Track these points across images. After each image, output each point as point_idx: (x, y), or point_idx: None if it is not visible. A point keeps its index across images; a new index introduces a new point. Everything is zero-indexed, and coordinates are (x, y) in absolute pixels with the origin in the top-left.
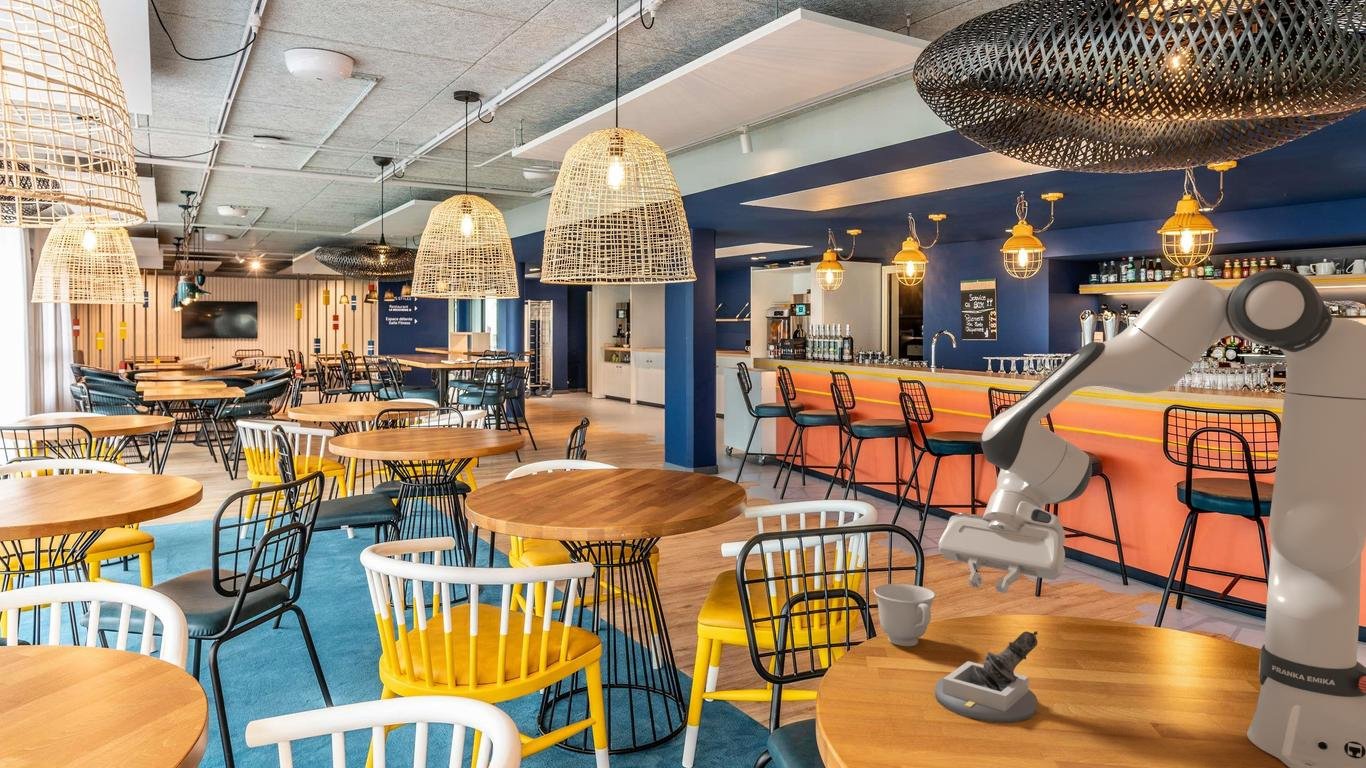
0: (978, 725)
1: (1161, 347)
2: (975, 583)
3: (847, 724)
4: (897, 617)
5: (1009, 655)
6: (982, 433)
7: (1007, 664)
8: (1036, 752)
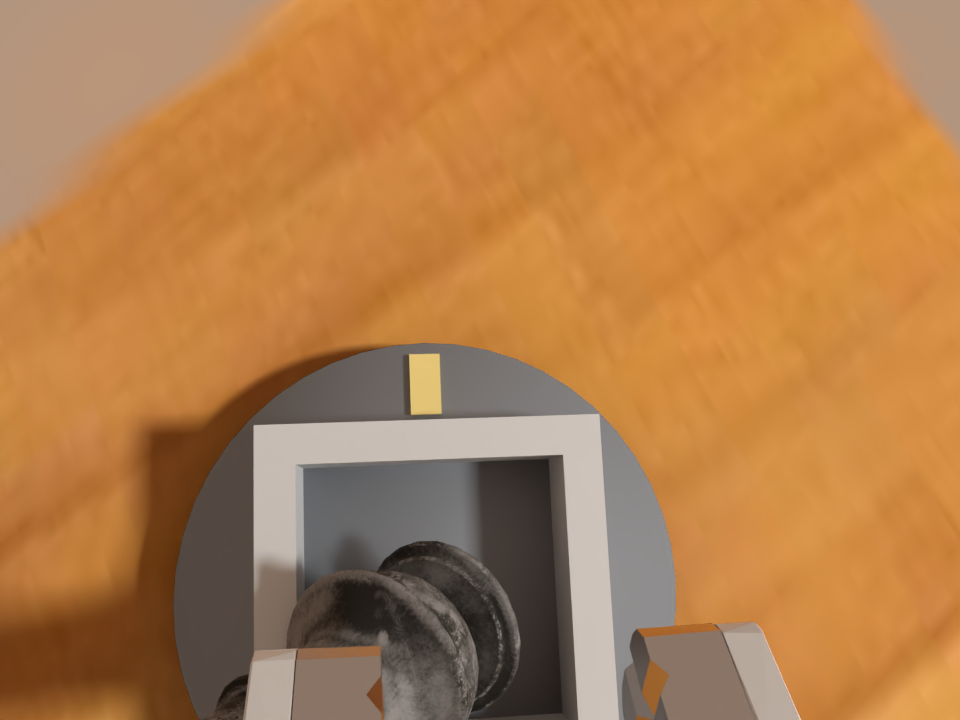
0: (344, 310)
1: None
2: (655, 629)
3: None
4: None
5: None
6: None
7: (315, 641)
8: (54, 234)
